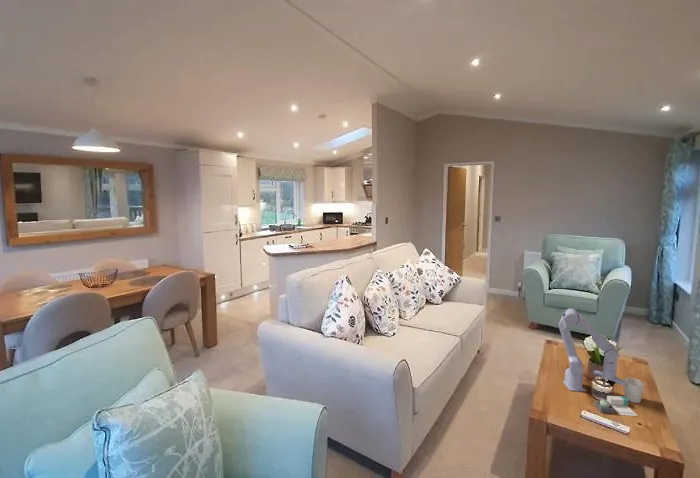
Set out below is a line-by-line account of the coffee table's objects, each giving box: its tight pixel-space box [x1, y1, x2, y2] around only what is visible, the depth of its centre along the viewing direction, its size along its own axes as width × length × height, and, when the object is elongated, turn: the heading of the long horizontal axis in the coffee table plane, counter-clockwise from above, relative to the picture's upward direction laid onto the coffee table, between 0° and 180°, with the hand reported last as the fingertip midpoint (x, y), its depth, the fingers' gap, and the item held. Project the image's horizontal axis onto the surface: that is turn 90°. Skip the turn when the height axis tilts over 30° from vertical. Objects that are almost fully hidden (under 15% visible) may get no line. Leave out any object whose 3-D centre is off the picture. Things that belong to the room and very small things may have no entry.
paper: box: [611, 405, 639, 417], centre depth 179 cm, size 8×8×1 cm
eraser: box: [606, 395, 629, 406], centre depth 184 cm, size 8×3×3 cm, turn 82°
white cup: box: [623, 377, 645, 404], centre depth 188 cm, size 8×8×10 cm
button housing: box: [594, 400, 616, 414], centre depth 180 cm, size 6×6×2 cm
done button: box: [599, 399, 610, 408], centre depth 180 cm, size 4×4×3 cm
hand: (607, 392), depth 193 cm, fingers closed
